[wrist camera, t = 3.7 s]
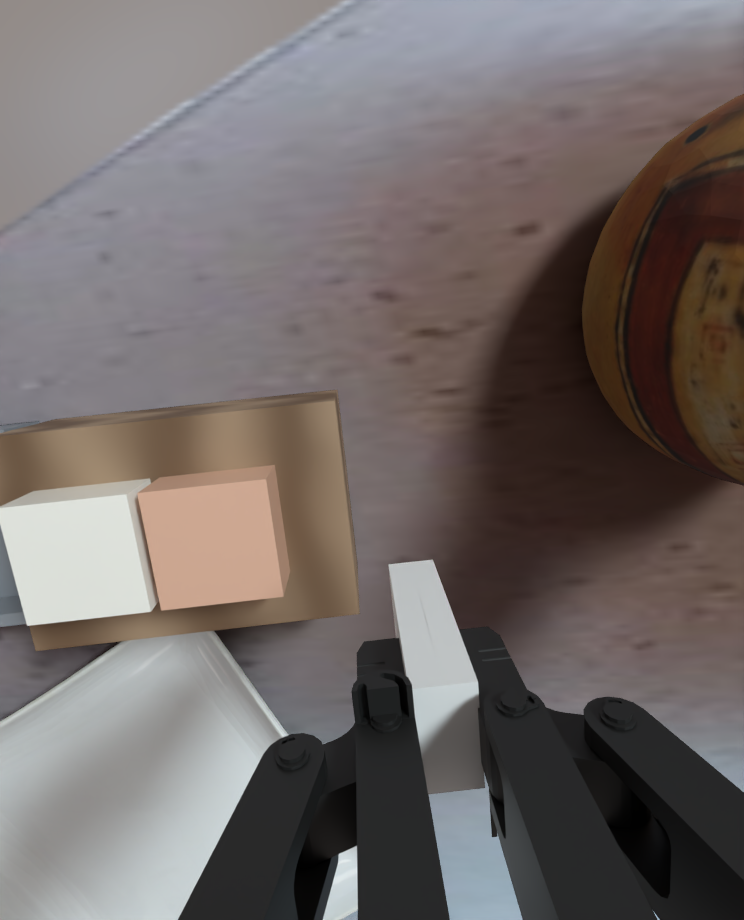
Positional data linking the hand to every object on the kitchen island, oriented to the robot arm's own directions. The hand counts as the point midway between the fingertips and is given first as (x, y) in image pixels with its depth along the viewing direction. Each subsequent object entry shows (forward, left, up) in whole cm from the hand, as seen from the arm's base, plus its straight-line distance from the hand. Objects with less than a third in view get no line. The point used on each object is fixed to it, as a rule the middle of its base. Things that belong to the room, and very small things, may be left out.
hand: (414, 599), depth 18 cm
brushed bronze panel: (-11, 0, -18) cm, 21 cm away
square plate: (-19, -24, -18) cm, 36 cm away
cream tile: (-15, 0, -11) cm, 19 cm away
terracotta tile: (-9, 0, -11) cm, 14 cm away
